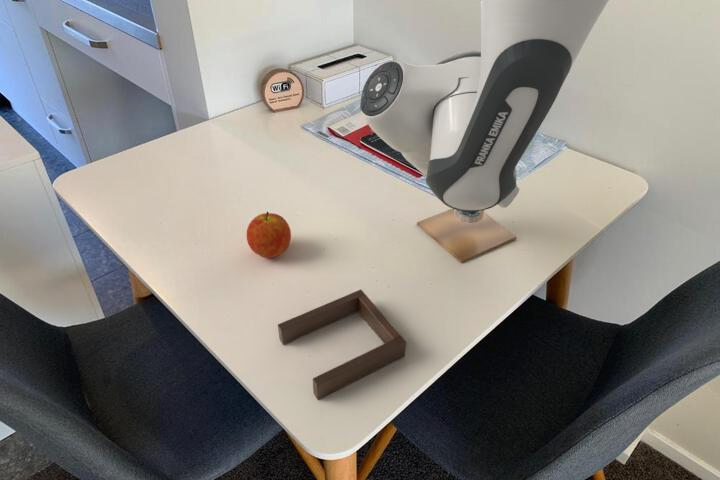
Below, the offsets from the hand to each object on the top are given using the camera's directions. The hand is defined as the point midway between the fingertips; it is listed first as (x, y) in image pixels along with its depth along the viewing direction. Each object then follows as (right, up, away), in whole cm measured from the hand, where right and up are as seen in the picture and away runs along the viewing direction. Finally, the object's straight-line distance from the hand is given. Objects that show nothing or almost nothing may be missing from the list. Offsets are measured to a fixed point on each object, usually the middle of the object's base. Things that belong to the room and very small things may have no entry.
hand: (476, 182), depth 84 cm
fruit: (-33, -11, +1) cm, 35 cm away
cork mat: (-1, -8, +6) cm, 10 cm away
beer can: (-1, -6, +4) cm, 7 cm away
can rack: (-21, -24, -14) cm, 35 cm away
